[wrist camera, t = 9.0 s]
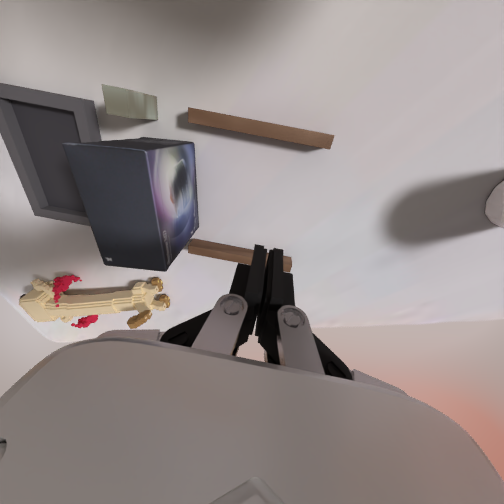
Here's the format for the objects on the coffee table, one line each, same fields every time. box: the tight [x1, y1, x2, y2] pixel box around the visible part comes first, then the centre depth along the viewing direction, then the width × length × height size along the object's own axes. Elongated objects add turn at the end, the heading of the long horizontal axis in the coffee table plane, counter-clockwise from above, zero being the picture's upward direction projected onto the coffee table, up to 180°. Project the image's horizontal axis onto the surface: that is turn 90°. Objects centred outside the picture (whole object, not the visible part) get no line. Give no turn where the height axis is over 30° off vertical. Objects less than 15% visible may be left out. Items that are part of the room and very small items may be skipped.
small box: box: [62, 137, 199, 272], centre depth 21 cm, size 11×6×10 cm, turn 176°
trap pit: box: [0, 83, 101, 226], centre depth 25 cm, size 14×10×2 cm
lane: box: [102, 84, 335, 272], centre depth 23 cm, size 17×20×5 cm
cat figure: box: [19, 275, 170, 329], centre depth 33 cm, size 10×9×25 cm
